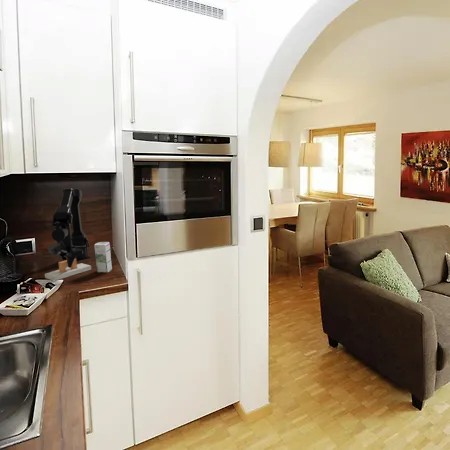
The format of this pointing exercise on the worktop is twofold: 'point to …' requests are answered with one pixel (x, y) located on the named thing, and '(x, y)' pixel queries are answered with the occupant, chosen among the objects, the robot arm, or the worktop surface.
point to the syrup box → (103, 256)
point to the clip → (66, 265)
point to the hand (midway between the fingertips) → (68, 267)
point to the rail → (67, 272)
